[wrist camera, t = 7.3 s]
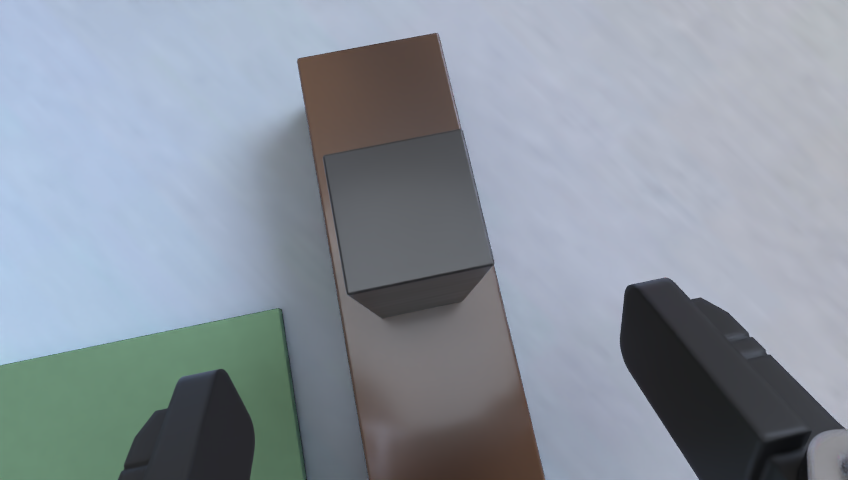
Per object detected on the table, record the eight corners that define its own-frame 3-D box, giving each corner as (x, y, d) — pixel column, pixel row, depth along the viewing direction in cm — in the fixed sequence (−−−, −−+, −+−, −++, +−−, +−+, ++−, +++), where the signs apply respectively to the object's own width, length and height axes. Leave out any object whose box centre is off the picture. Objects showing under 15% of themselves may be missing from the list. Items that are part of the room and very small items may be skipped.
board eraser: (389, 527, 17) (343, 778, 7) (314, 99, 20) (211, -135, 10) (533, 495, 17) (682, 694, 7) (436, 76, 20) (448, -173, 11)
